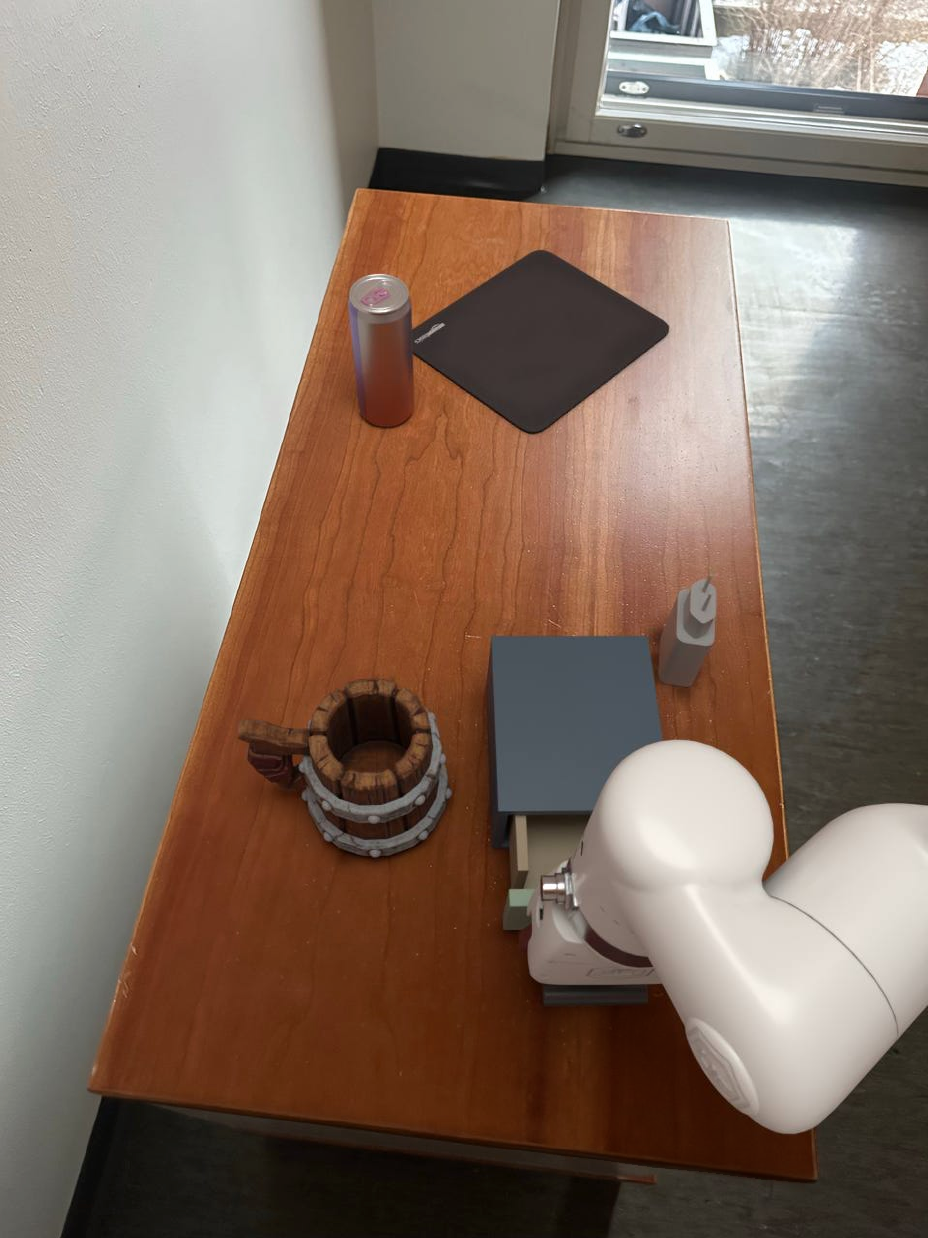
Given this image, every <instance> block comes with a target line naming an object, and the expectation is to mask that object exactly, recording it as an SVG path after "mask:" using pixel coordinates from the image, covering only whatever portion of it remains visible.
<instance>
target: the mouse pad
mask: <svg viewBox="0 0 928 1238" xmlns="http://www.w3.org/2000/svg"><path fill="white" fill-rule="evenodd" d="M669 331H670V326H669V323H667V322H666V321H665V320H664V319H662V318H661V317H659V316H658V315H656V314H655V313H653V312H651V311H649V310H647V309H646V308H645V307H642V306H641V305H639V304H637V303H636V302H635V301H633V300H631V299H629V298H628V297H626V296H624V295H623V294H621V293H619V292H618V291H616V290H614V289H613V288H611V287H609V286H608V285H606V284H605V283H603V282H601V281H599V280H598V279H596V278H594V277H592V276H591V275H589V274H588V273H586V272H584V271H583V270H581V269H579V268H578V267H576V266H575V265H572V264H571V263H569V262H568V261H566V260H564V259H563V258H562V257H559V256H557V254H555V253H552V252H551V251H548V250H545V249H537V250H533V251H531V252H529V253H528V254H526V255H525V256H523V257H521V258H520V259H518V260H516V261H515V262H514V263H512V264H511V265H509V266H507V267H506V268H504V269H503V270H501V271H499V273H497V274H495V275H493V276H492V277H491V278H489V279H487V280H486V281H484V282H482V283H481V284H480V285H478V286H476V287H475V288H473V289H472V290H470V291H469V292H467V293H466V294H464V295H463V296H461V297H460V298H458V299H457V300H455V301H453V302H452V303H450V304H449V305H448V306H446V307H444V308H443V309H441V310H440V311H438V312H437V313H435V314H433V315H432V316H430V317H428V318H427V319H426V320H424V321H423V322H421V323H420V324H418V325H417V326H415V327H413V328H412V343H413V355H415V356H417V357H418V358H419V359H421V360H422V361H424V362H425V363H426V364H428V365H429V366H430V367H432V368H434V369H435V370H437V371H438V372H439V373H441V374H442V375H443V376H445V377H446V378H448V379H449V380H450V381H452V382H453V383H455V384H456V385H457V386H459V387H460V388H461V389H463V390H465V391H466V392H467V393H469V394H470V395H472V396H473V397H475V398H476V399H477V400H478V401H480V402H481V403H483V404H484V405H486V406H487V407H488V408H490V409H492V410H493V411H494V412H496V413H497V414H499V415H500V416H502V417H503V418H504V419H505V420H507V421H509V422H510V423H511V424H513V425H514V426H516V428H518V429H520V430H521V431H524V432H526V433H530V434H536V433H540V432H542V431H544V430H545V429H547V428H549V427H550V426H551V425H552V424H554V423H555V422H556V421H558V420H559V419H560V418H561V417H563V416H564V415H566V414H568V412H570V411H571V410H572V409H573V408H574V407H576V406H577V405H579V404H580V403H581V402H582V401H583V400H585V399H587V397H589V396H590V395H591V394H593V393H594V392H595V391H596V390H598V389H599V388H601V387H602V386H603V385H605V384H606V383H607V382H609V380H611V379H612V378H613V377H615V376H616V375H617V374H619V373H620V372H621V371H622V370H624V369H625V368H626V367H627V366H629V365H631V364H632V363H633V362H634V361H636V360H637V359H638V358H639V357H640V356H642V355H644V354H645V353H646V352H647V351H648V350H650V349H651V348H652V347H654V345H656V344H657V343H658V342H660V341H661V340H662V339H663V338H665V337H666V336H667V335H668V333H669Z"/></svg>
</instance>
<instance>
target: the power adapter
mask: <svg viewBox="0 0 928 1238" xmlns="http://www.w3.org/2000/svg"><path fill="white" fill-rule="evenodd" d="M712 578H713V573H709V575H708V577H707V579H705V578H701V579H699V580H697V581H696V582H694V583H692V585H691V586H690V588H683V589H680V590H679V591H678V593H677V596H676V598H675V600H674V604H673V606H672V609H671V610H670V612H669V613H670V614H669V615H668V618H667V620H666V623H665V626H664V628H663V631H662V633H661V635H660V639H659V653H658V654H659V656H658V673H657V675H658V680H659V681H660V682H661V683H662V684H665V685H669V686H676V687H683V688H688V687H689V688H690V687H691V686H692V685H693V684H694V681H695V679H696V678H697V675H698V674H699V672H700V671H701V669H702V666H703V664H704V662H705V660H706V658H707V656H708V654H709V652H710V651H711V648H712V646H713V644H714V642H715V636H716V635H715V634H716V633H715V632H716V629H715V628H716V625H715V624H716V616H717V590H716V587H715V586H714V585H713V584H712V583H711V580H712Z"/></svg>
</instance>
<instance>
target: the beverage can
mask: <svg viewBox="0 0 928 1238" xmlns="http://www.w3.org/2000/svg"><path fill="white" fill-rule="evenodd" d="M409 290H410V289H409V287H408V285H407V284H406V282H404V281H403V280H402V279H401V278H399V277H396V276H394V275H392V274H387V273H373V274H368V275H365V276H362V277H360V278H359V279H357V280H355V282H353V283H352V285H351V286H350V289H349V292H348V294H349V295H348V296H349V298H348V299H347V300H348V301H347V307H348V316H349V326H350V327H349V328H350V335H351V347H352V356H353V357H352V358H353V365H354V376H355V377H354V378H355V388H356V394H357V395H356V396H357V405H358V410H359V413H360V415H361V416H362V417H363V418H364V419H365V420H366V421H367V422H369V423H370V424H372V425H374V426H376V427H380V428H381V427H383V428H390V427H396V426H398V425H401V424H403V423H404V422H406V420H408V419H409V417H410V416H411V415H412V413H413V411H414V409H415V384H414V383H415V381H414V379H415V378H414V353H413V343H412V329H413V312H412V299H411V296H410V291H409Z"/></svg>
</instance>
